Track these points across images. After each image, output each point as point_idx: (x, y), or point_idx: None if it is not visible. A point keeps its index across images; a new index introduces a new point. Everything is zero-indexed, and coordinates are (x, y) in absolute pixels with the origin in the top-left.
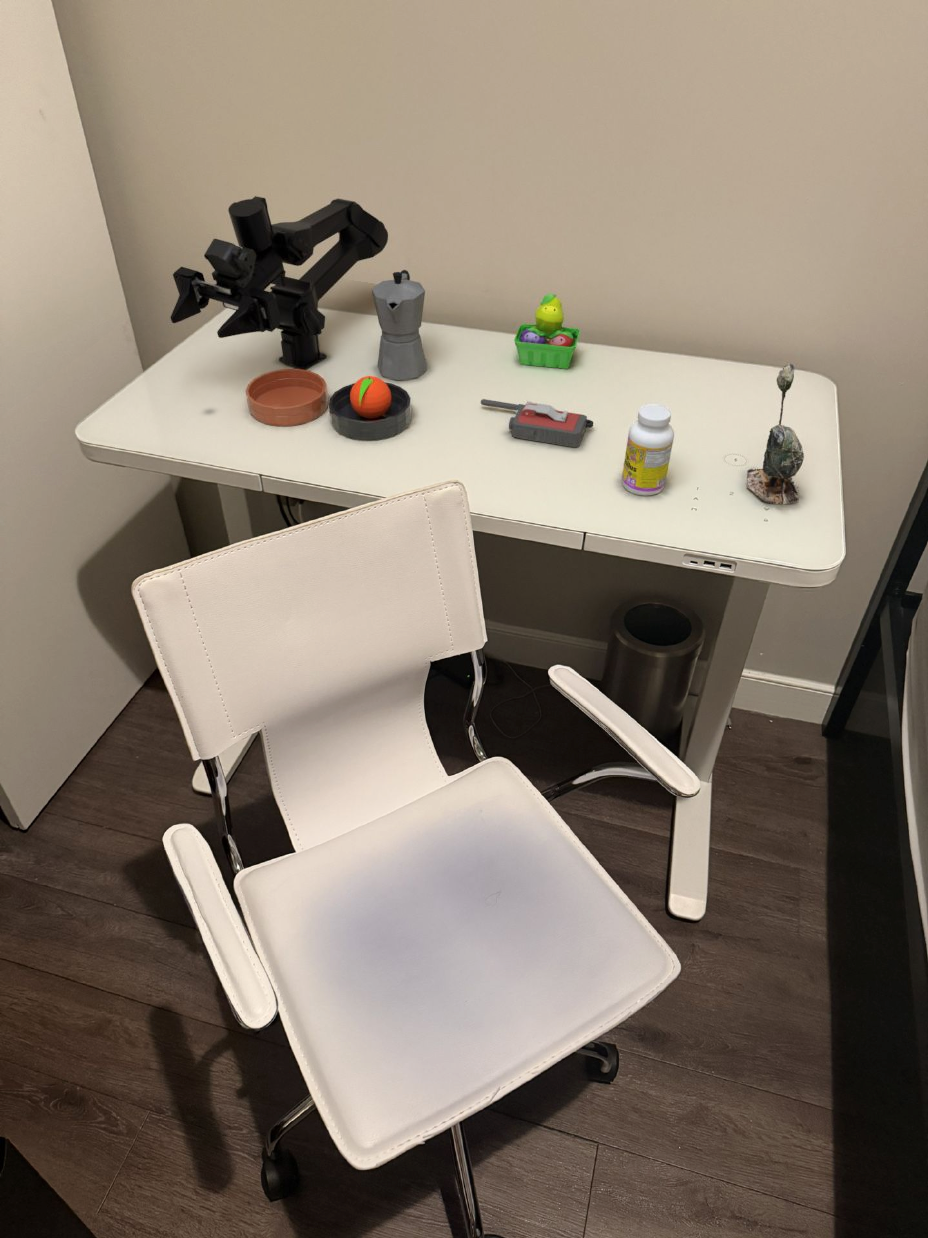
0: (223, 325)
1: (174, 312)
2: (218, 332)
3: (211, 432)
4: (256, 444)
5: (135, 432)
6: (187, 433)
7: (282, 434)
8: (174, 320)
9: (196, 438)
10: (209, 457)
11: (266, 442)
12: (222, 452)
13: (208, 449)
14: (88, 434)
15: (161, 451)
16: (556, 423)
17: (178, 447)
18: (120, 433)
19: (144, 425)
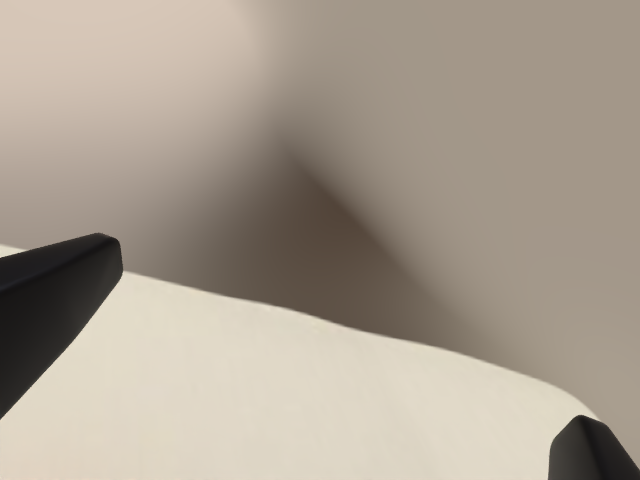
0: (43, 259)
1: (618, 469)
2: (107, 235)
3: (263, 445)
4: (110, 385)
5: (483, 428)
6: (336, 434)
7: (10, 451)
8: (561, 448)
9: (300, 407)
10: (239, 321)
11: (76, 398)
12: (209, 343)
13: (250, 355)
14: (589, 410)
15: (368, 342)
16: None
17: (333, 361)
18: (517, 420)
19: (483, 472)
